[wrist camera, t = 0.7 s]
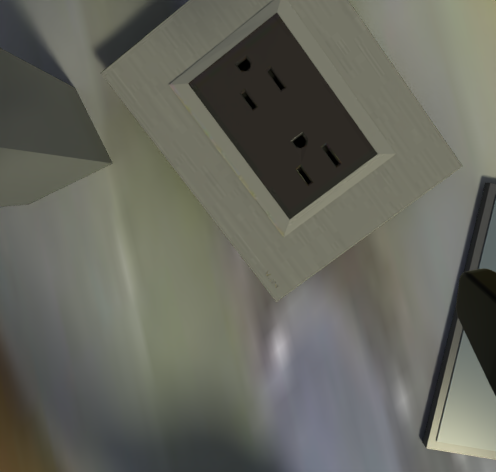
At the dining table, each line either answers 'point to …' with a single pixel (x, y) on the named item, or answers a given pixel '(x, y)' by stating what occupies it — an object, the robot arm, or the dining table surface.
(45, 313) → the dining table surface
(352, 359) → the dining table surface
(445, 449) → the plate
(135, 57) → the electrical outlet
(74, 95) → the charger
